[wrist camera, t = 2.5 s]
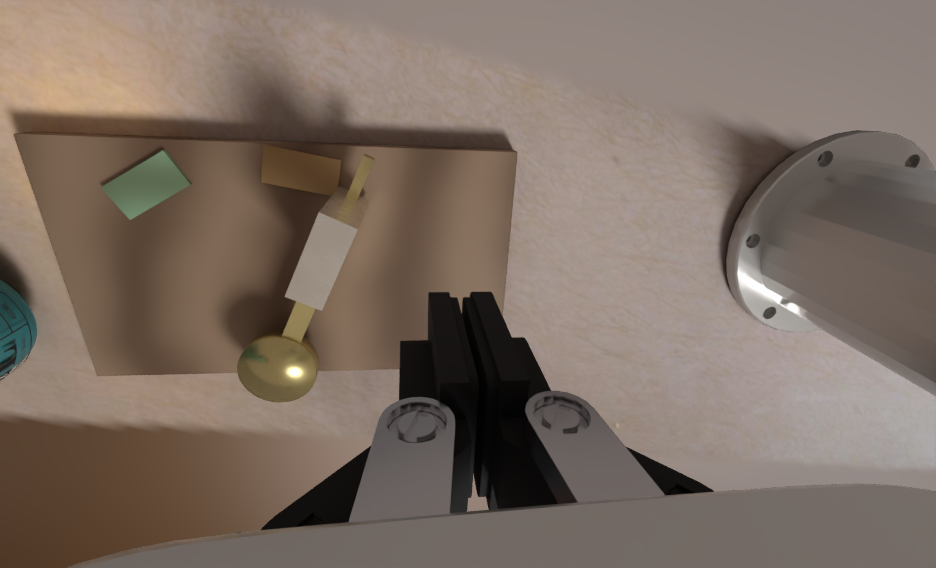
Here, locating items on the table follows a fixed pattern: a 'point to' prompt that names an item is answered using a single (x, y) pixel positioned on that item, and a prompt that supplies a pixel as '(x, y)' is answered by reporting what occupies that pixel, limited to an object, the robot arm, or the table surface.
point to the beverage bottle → (14, 329)
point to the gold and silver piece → (306, 300)
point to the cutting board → (260, 243)
